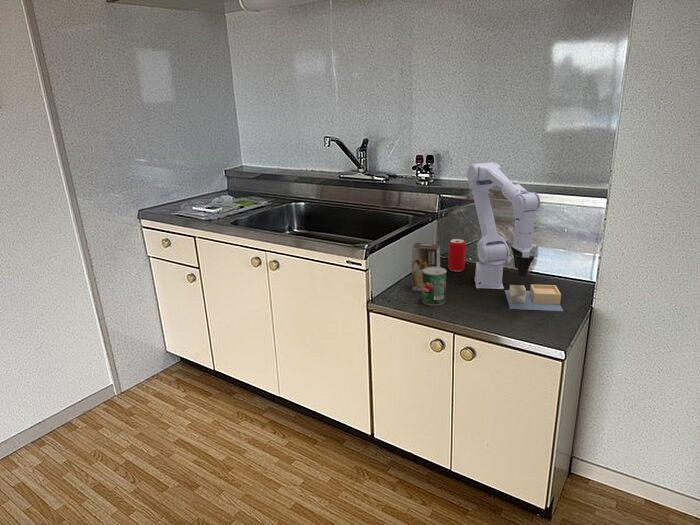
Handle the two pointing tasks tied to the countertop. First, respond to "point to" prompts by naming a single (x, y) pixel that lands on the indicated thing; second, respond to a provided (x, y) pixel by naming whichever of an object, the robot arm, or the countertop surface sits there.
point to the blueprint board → (530, 304)
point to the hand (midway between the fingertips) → (520, 272)
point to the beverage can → (456, 255)
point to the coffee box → (423, 261)
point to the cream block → (517, 294)
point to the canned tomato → (434, 286)
